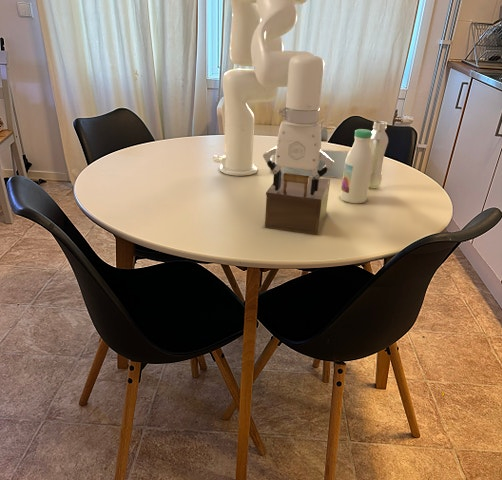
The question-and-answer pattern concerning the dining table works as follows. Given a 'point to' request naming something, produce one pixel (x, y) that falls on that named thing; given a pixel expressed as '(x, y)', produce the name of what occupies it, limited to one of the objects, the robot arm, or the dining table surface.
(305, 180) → the tea box lid
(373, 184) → the plastic bottle
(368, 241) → the dining table surface
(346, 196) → the milk bottle
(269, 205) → the tea box
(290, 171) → the architectural model
